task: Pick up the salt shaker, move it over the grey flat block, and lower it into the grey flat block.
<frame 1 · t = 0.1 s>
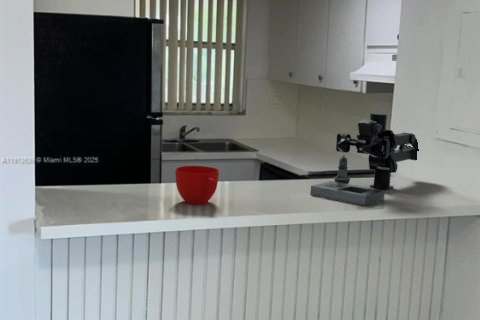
hand: (349, 147, 194), 17 cm above the worktop, tool horizontal, fingers open, 9 cm apart
grey flat block: (346, 197, 196), on the worktop
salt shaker: (341, 188, 211), on the worktop
ceramic cup: (199, 204, 178), on the worktop
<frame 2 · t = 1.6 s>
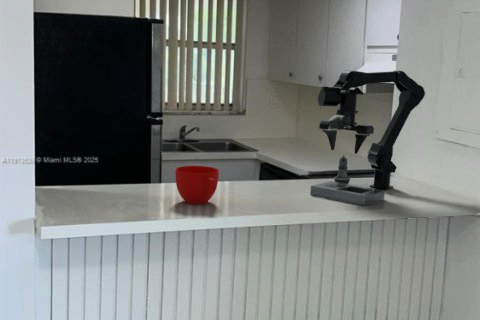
hand: (344, 151, 209), 13 cm above the worktop, tool pointing down, fingers open, 9 cm apart
nothing on the worktop moved.
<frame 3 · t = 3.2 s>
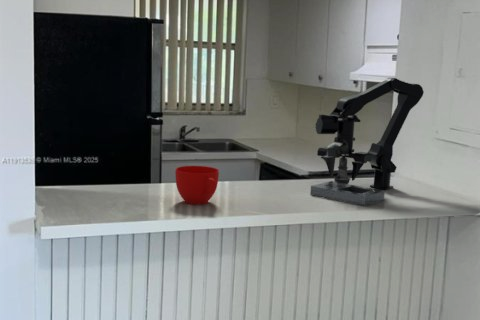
hand: (342, 178, 211), 3 cm above the worktop, tool pointing down, fingers closed on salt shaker, 8 cm apart
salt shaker: (341, 188, 211), on the worktop, touching gripper
everything else where it was.
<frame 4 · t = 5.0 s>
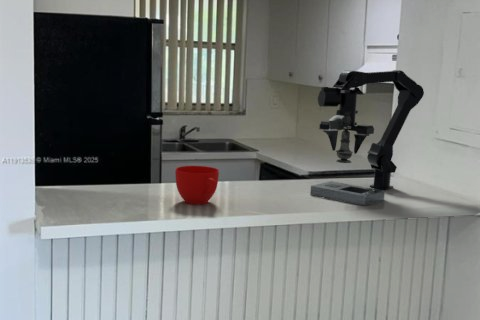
hand: (344, 152, 209), 13 cm above the worktop, tool pointing down, fingers closed on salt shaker, 8 cm apart
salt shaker: (343, 162, 209), point 9 cm above the worktop, touching gripper
everything else where it was.
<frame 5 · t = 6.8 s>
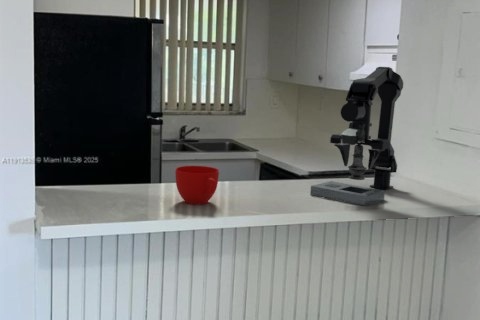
hand: (357, 167, 193), 10 cm above the worktop, tool pointing down, fingers closed on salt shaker, 8 cm apart
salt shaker: (356, 178, 194), point 7 cm above the worktop, touching gripper
everything else where it was.
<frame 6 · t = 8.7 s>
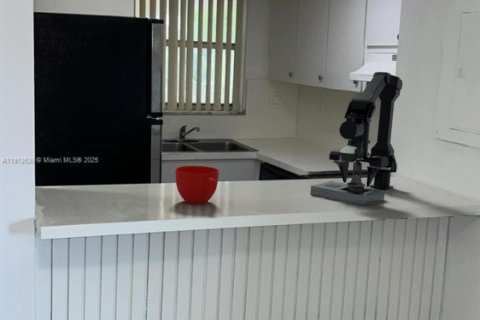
hand: (356, 184, 194), 5 cm above the worktop, tool pointing down, fingers closed on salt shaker, 8 cm apart
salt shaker: (355, 195, 195), point 1 cm above the worktop, touching gripper
everything else where it was.
when the fingers open (10 cm above the worktop, at t = 10.3 s): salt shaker drops 7 cm, resting in grey flat block.
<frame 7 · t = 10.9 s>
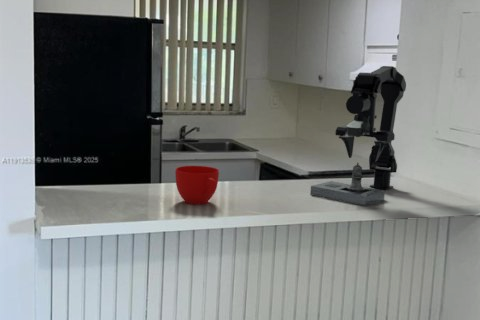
hand: (362, 159, 196), 13 cm above the worktop, tool pointing down, fingers open, 9 cm apart
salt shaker: (354, 199, 195), resting in grey flat block
everything else where it was.
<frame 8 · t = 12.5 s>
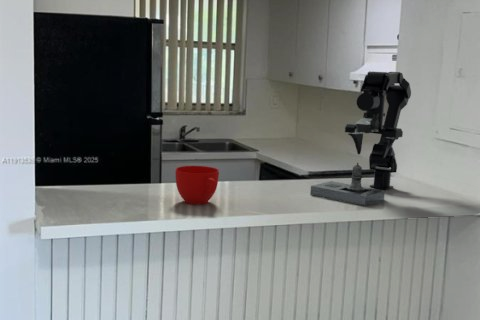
hand: (371, 156, 202), 13 cm above the worktop, tool pointing down, fingers open, 9 cm apart
nothing on the worktop moved.
at the end: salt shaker 0.0 cm from the target spot on the grey flat block, point 0.0 cm above the grey flat block's base; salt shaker tilted 0°; the gripper is holding nothing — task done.
